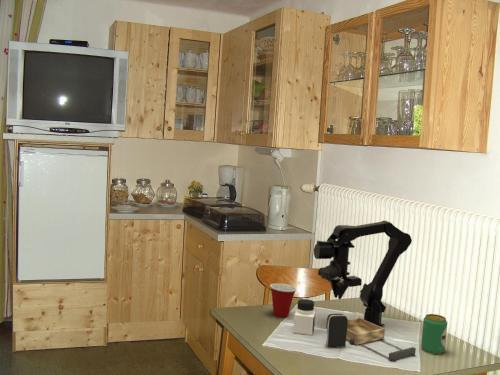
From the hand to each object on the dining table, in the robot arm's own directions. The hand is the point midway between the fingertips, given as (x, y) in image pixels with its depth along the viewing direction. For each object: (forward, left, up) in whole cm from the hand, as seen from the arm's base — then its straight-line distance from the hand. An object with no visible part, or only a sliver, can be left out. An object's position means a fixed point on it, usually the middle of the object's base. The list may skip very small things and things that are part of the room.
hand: (337, 298), depth 213 cm
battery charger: (+14, +15, -11) cm, 23 cm away
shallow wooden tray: (0, +12, -11) cm, 16 cm away
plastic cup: (+12, -19, -11) cm, 25 cm away
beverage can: (-15, +33, -11) cm, 39 cm away
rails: (0, +20, -11) cm, 23 cm away
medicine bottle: (+15, -1, -11) cm, 19 cm away
